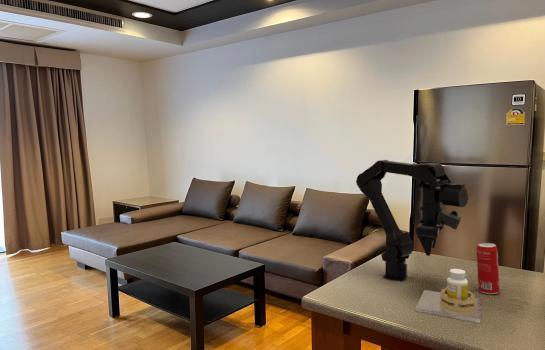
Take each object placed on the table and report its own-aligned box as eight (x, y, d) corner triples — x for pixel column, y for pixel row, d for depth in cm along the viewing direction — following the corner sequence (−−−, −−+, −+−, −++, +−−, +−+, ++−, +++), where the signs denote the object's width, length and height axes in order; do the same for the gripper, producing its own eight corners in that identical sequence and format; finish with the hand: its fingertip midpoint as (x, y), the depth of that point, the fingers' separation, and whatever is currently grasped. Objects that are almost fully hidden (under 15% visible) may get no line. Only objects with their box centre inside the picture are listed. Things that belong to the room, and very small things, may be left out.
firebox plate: (415, 310, 109) (416, 296, 109) (424, 292, 121) (424, 279, 121) (480, 323, 101) (480, 307, 101) (482, 302, 113) (482, 288, 113)
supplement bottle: (466, 301, 112) (467, 268, 111) (469, 309, 107) (469, 275, 106) (445, 299, 114) (446, 267, 113) (447, 307, 109) (448, 273, 108)
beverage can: (502, 295, 118) (503, 247, 116) (478, 294, 119) (479, 246, 118) (495, 288, 123) (497, 242, 122) (473, 286, 125) (474, 241, 124)
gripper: (456, 210, 110) (455, 263, 112) (462, 200, 126) (461, 247, 128) (415, 207, 116) (415, 258, 117) (425, 198, 132) (425, 243, 133)
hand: (430, 251), depth 124 cm, fingers open, 9 cm apart
